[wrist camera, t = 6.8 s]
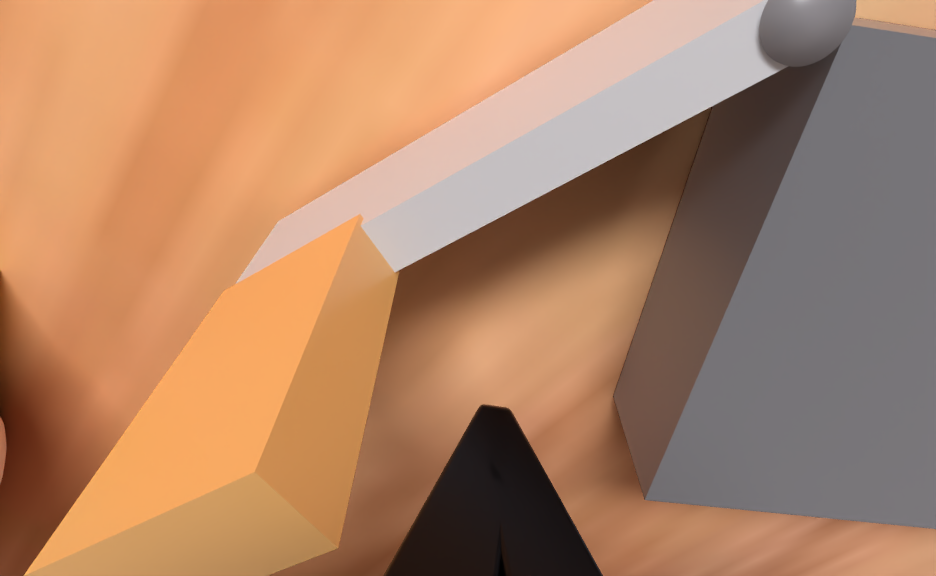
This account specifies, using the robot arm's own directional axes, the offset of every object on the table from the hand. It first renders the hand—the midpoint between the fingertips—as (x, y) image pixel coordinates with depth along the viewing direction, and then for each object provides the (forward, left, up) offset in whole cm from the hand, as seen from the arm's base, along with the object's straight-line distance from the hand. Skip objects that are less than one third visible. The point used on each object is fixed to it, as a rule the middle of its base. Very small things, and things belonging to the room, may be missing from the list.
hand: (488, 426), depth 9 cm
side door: (0, -3, -6) cm, 7 cm away
